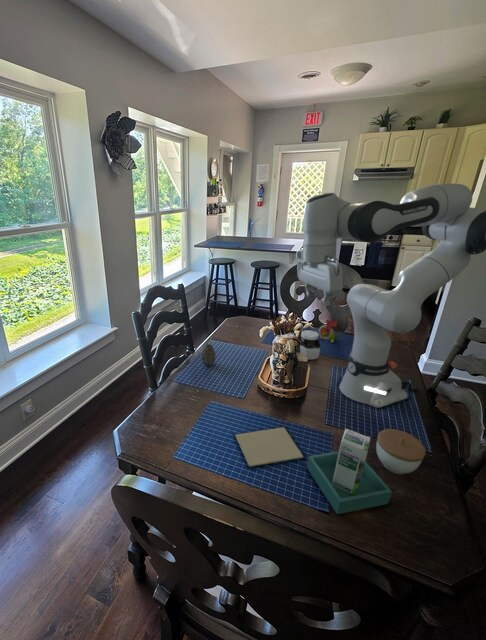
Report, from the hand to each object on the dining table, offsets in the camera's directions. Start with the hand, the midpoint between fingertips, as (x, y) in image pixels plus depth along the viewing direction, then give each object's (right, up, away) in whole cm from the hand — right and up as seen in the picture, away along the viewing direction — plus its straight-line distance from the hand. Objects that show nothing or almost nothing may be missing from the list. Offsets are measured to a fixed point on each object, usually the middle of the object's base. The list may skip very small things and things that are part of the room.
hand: (317, 301), depth 96 cm
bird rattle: (+29, -16, +60) cm, 69 cm away
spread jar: (+12, -22, +46) cm, 52 cm away
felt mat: (-15, -43, -2) cm, 46 cm away
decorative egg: (-30, -25, +41) cm, 57 cm away
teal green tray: (+1, -48, -14) cm, 50 cm away
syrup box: (+1, -47, -14) cm, 49 cm away
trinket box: (+18, -45, -8) cm, 49 cm away
